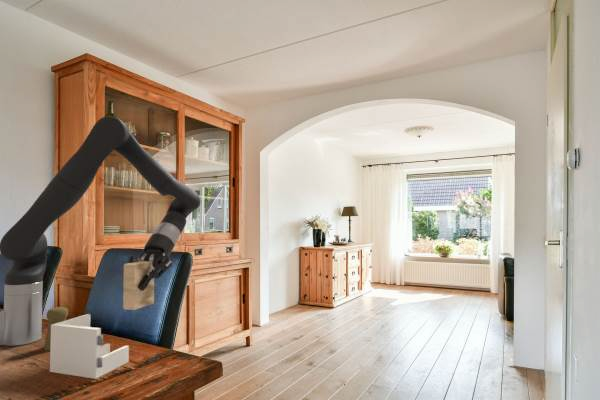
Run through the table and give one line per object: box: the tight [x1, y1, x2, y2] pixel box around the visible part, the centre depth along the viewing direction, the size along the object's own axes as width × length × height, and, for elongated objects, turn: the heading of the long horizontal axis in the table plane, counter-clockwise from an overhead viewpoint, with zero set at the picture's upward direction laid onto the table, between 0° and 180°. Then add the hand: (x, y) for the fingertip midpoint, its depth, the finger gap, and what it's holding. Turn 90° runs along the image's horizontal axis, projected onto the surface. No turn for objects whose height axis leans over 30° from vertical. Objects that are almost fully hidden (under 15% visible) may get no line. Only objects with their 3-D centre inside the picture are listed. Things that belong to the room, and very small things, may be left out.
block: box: [122, 261, 155, 311], centre depth 104 cm, size 8×4×12 cm, turn 163°
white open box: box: [49, 313, 130, 380], centre depth 92 cm, size 10×15×11 cm
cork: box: [43, 306, 69, 352], centre depth 107 cm, size 6×6×11 cm
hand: (134, 288), depth 102 cm, fingers closed on block, 3 cm apart
